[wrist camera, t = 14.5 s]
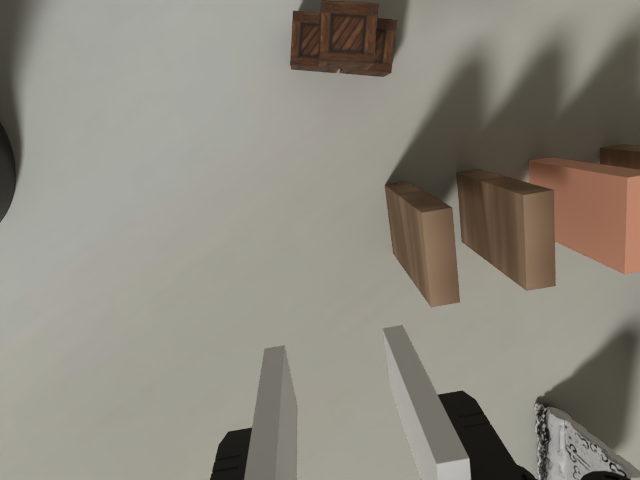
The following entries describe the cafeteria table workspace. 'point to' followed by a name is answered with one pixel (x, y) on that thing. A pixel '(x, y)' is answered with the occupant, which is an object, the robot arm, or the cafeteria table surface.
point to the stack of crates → (343, 39)
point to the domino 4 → (621, 156)
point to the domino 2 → (509, 226)
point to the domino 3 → (594, 209)
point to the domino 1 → (424, 241)
